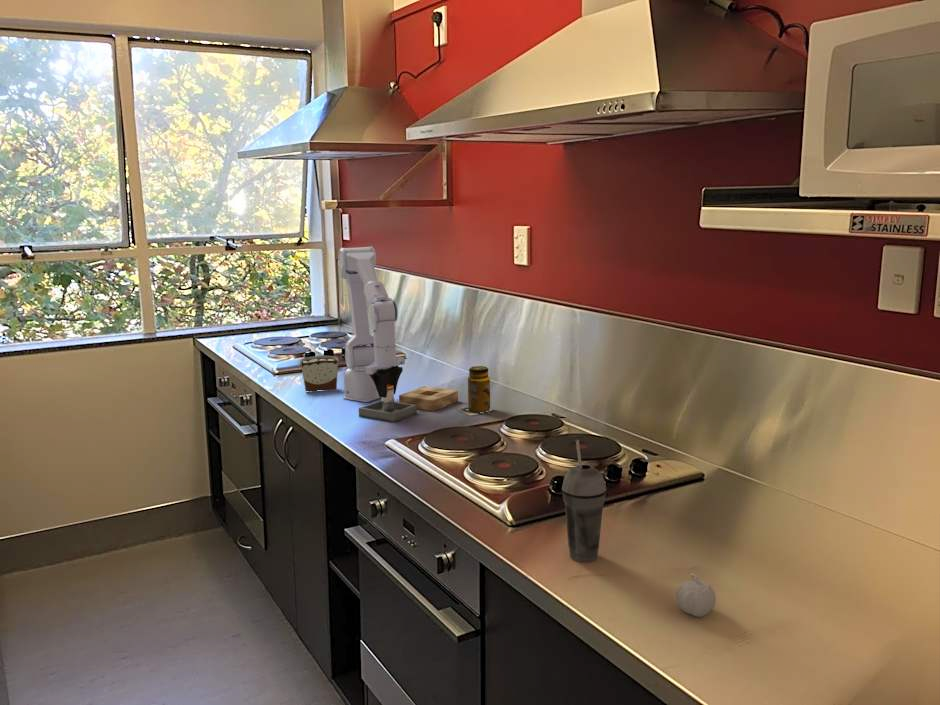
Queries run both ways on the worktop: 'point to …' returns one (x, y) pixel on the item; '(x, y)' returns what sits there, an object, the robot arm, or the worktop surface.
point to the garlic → (696, 597)
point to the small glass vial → (388, 399)
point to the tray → (376, 412)
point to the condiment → (478, 391)
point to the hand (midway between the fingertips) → (387, 395)
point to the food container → (320, 372)
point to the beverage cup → (583, 509)
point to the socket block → (429, 398)
